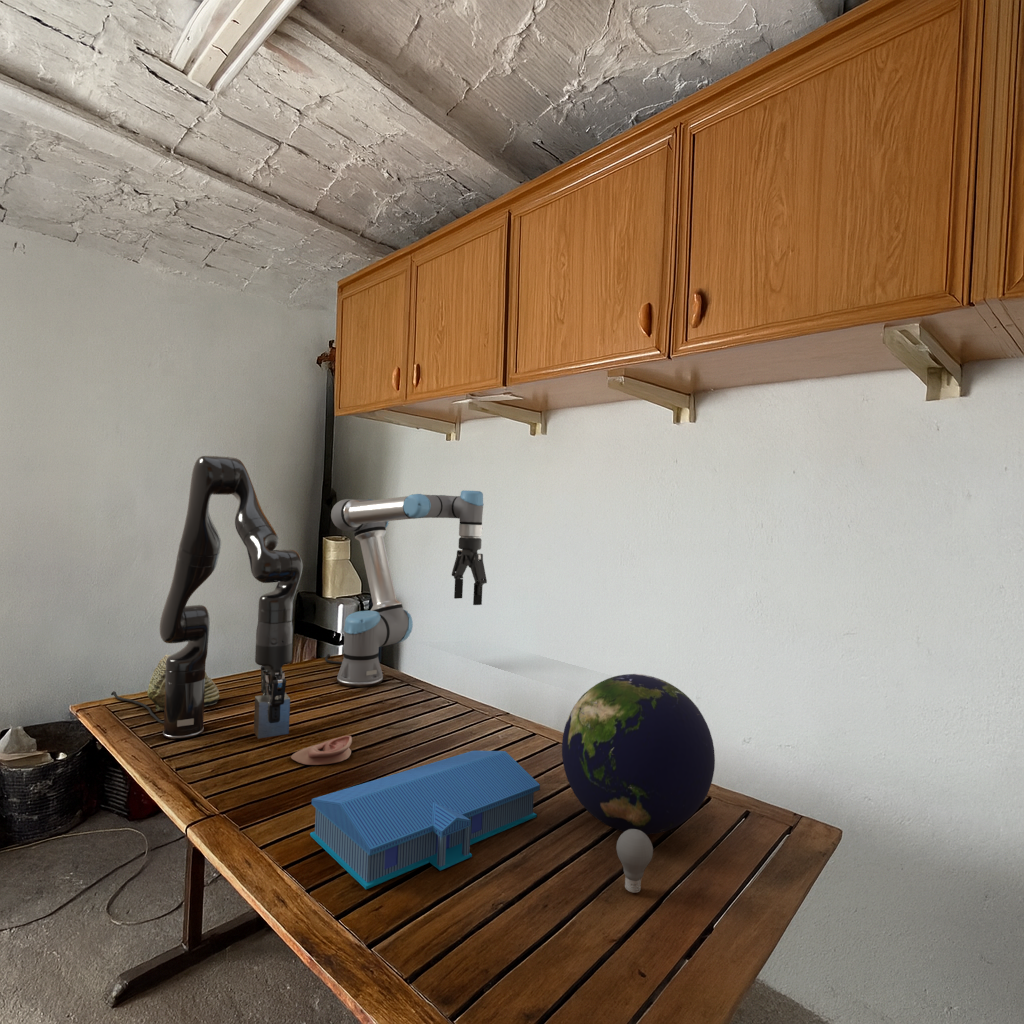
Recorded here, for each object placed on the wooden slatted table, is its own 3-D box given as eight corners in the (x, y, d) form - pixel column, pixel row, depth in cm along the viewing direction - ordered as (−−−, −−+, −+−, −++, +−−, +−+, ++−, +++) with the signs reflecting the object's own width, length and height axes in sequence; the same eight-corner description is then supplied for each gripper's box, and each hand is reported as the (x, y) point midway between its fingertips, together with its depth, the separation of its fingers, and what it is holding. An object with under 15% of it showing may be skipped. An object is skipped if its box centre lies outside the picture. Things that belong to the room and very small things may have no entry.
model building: (376, 899, 100) (378, 836, 100) (308, 834, 119) (310, 781, 118) (548, 822, 127) (550, 773, 127) (472, 779, 145) (474, 735, 145)
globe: (537, 843, 119) (545, 684, 118) (581, 780, 147) (587, 651, 146) (703, 885, 108) (711, 711, 107) (716, 809, 135) (723, 670, 135)
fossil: (144, 707, 182) (145, 655, 182) (212, 696, 194) (213, 647, 194) (151, 716, 175) (153, 662, 175) (221, 703, 188) (223, 653, 188)
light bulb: (610, 879, 108) (613, 822, 108) (644, 879, 109) (647, 822, 109) (619, 902, 102) (622, 840, 102) (655, 901, 103) (658, 840, 103)
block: (289, 733, 139) (290, 698, 138) (257, 738, 135) (259, 702, 135) (284, 727, 142) (285, 692, 142) (253, 731, 139) (254, 696, 139)
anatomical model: (284, 745, 150) (309, 728, 161) (283, 762, 150) (308, 744, 161) (336, 752, 147) (358, 734, 158) (335, 769, 147) (357, 750, 158)
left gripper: (300, 646, 134) (297, 726, 135) (284, 633, 146) (281, 706, 147) (263, 649, 130) (259, 732, 131) (249, 635, 142) (247, 711, 143)
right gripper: (499, 540, 200) (496, 607, 201) (463, 534, 221) (460, 595, 222) (478, 540, 196) (475, 608, 197) (443, 534, 217) (441, 596, 218)
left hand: (271, 718), depth 139 cm, fingers closed on block, 4 cm apart
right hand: (467, 601), depth 209 cm, fingers open, 13 cm apart
